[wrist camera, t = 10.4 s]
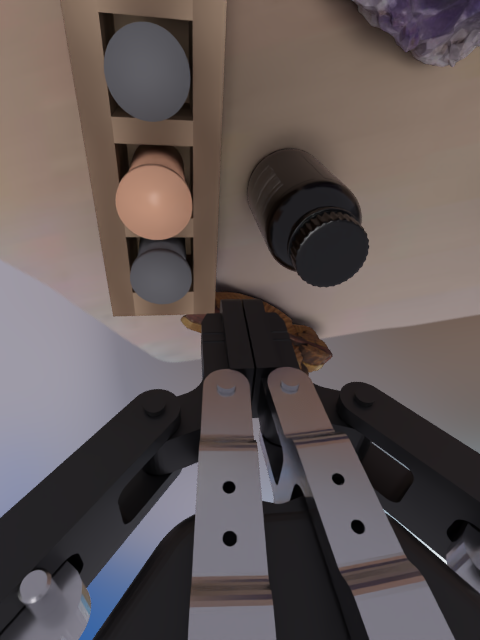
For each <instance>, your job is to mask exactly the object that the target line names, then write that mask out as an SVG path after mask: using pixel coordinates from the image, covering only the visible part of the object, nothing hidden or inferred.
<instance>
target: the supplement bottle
mask: <svg viewBox="0 0 480 640" xmlns="http://www.w3.org/2000/svg"><path fill="white" fill-rule="evenodd" d="M247 195H248V202H249V206H250V209H251V211H252V214H253V216H254V218H255V220H256V222H257V225H258V227H259V229H260V231H261V233H262V236H263V238H264V240H265V242H266V244H267V247H268V249H269V251H270V253H271V254H272V256H273V257H274V259H275V260H276V261H277V262H278V263H279V264H281V265H282V266H283V267H285V268H287V269H289V270H292V271H295V272H297V273H298V275H299V276H300V277H301V278H302V280H304V281H306V282H307V283H308V284H312V285H313V286H318V287H329V286H335V285H338V284H341V283H342V282H344V281H347V280H348V279H349V278H351V277H353V275H354V274H355V273H357V272H358V270H359V268H361V267H362V266H363V263H364V262H365V260H366V256H367V255H368V249H369V245H368V242H369V239H368V238H367V233H366V232H365V231H364V228H363V227H362V226H361V223H362V215H361V209H360V205H359V203H358V201H357V199H356V197H355V196H354V194H353V193H352V192H351V191H350V190H349V189H348V188H347V187H346V186H345V185H344V184H343V183H342V182H341V181H340V180H339V179H338V178H337V177H335V176H334V175H333V174H332V173H331V172H330V171H329V170H328V169H327V168H326V167H325V166H324V165H322V164H321V163H320V162H319V161H318V160H317V159H316V158H314V157H313V156H312V155H310V154H309V153H307V152H305V151H302V150H299V149H283V150H279V151H276V152H274V153H272V154H270V155H269V156H267V157H266V158H264V159H263V160H262V161H261V162H260V163H259V164H258V166H257V167H256V168H255V170H254V171H253V173H252V175H251V178H250V180H249V184H248V191H247Z"/></svg>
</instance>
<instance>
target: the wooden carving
mask: <svg viewBox="0 0 480 640" xmlns="http://www.w3.org/2000/svg"><path fill="white" fill-rule="evenodd" d="M221 299H255V298H253V297H249V296H246V295H242V294H241V293H234V292H215V313H220V300H221ZM263 305H264V308H265V312H276V313H277V314H278V315H279V316H280V317H281V318H282V319H283V320H284V321H285V324H286V327H287V330H288V333H289V336H290V341H291V343H292V346H293V349H294V352H295V355H296V358H297V361H298V364H299V367H300V370H301V371H303V372H304V373H306V374H307V375H308V374H309V372H312V371H317V370H319V369H320V368H322V367H323V365H324V364H325V363H326V362H327V361H328V360H329V359H330V358H331V357H332V353H331V351H330V350H329V349H328V347H327V345H326V344H325V343H324V342H323V341H322V340H320V339H319V338H318V335H317V334H316V332H315V331H314V330H313V329H312V328H310V327H307V326H305V325H296V324H294V325H292V320H291V319H290V318H289V317H288V316H286V315H285V314H284V313H283V312H281V311H280V310H278V309H277V308H275V307H273V306H272V305H269V304H268V303H266V302H263ZM205 316H206V314H187V315H185V316H183V317H182V318H181V321H182V323H183V324H184V325H185V326H186V327H187V328H189V329H191V330H194V331H197V332H200V333H201V322H202V321H203V319H204V317H205Z"/></svg>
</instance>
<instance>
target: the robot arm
mask: <svg viewBox="0 0 480 640" xmlns="http://www.w3.org/2000/svg"><path fill="white" fill-rule="evenodd" d="M201 357H202V377H203V380H202V382H201V383H200V385H199V386H198V387H197V388H196V389H194V390H193V391H191V392H189V393H186V394H183V395H180V396H177V397H176V396H175V395H174V394H173V393H171V392H169V391H166V390H162V389H154V390H149V391H146V392H143V393H142V394H140V395H138V396H137V397H136V398H135V399H134V400H133V401H131V402H130V403H129V404H128V405H127V406H126V407H125V408H124V409H123V410H121V411H120V412H119V413H118V414H117V415H116V416H115V417H113V418H112V419H111V420H110V421H109V422H108V423H107V424H106V425H104V426H103V427H102V428H101V429H100V430H99V431H98V432H97V433H96V434H94V435H93V436H92V437H91V438H90V439H89V440H88V441H86V442H85V443H84V444H83V445H82V446H81V447H80V448H79V449H78V450H76V451H75V452H74V453H73V454H72V455H71V456H70V457H69V458H67V459H66V460H65V461H64V462H63V463H62V464H61V465H59V466H58V467H57V468H56V469H55V470H54V471H53V472H52V473H50V474H49V475H48V476H47V477H46V478H45V479H44V480H43V481H42V482H40V483H39V484H38V485H37V486H36V487H35V488H34V489H33V490H31V491H30V492H29V493H28V494H27V495H26V496H25V497H23V498H22V499H21V500H20V501H19V502H18V503H17V504H16V505H14V506H13V507H12V508H11V509H10V510H9V511H8V512H7V513H5V514H4V515H3V516H2V517H1V518H0V640H78V639H79V638H80V636H81V634H82V633H83V631H84V629H85V627H86V625H87V622H88V620H89V617H90V611H91V600H90V596H89V593H88V591H87V589H86V588H87V587H88V585H89V584H90V583H91V582H92V580H93V579H94V578H95V577H96V576H97V574H98V573H99V572H100V571H101V569H102V568H103V567H104V566H105V565H106V563H107V562H108V561H109V560H110V558H111V557H112V556H113V555H114V554H115V552H116V551H117V550H118V549H119V547H120V546H121V545H122V544H123V543H124V541H125V540H126V539H127V537H128V536H129V535H130V534H131V533H132V531H133V530H134V529H135V528H136V527H137V525H138V524H139V523H140V521H141V520H142V519H143V518H144V517H145V515H146V514H147V513H148V512H149V511H150V509H151V508H152V507H153V506H154V504H155V503H156V502H157V501H158V500H159V498H160V497H161V496H162V495H163V494H164V492H165V491H166V490H167V489H168V487H169V486H170V485H171V484H172V482H173V481H174V480H175V479H176V478H177V476H178V475H179V474H180V472H181V470H182V468H184V467H187V466H189V465H192V464H194V463H197V462H198V477H197V494H196V513H195V515H192V516H191V517H189V518H187V519H185V520H184V521H182V522H181V523H179V524H178V525H177V526H175V527H174V528H173V529H172V530H171V531H170V532H169V533H168V534H167V535H166V536H165V537H164V538H163V540H162V541H161V542H160V543H159V545H158V546H157V547H156V549H155V550H154V552H153V553H152V555H151V556H150V557H149V559H148V560H147V562H146V563H145V565H144V566H143V567H142V569H141V570H140V572H139V573H138V575H137V576H136V578H135V579H134V580H133V582H132V584H131V585H130V586H129V588H128V589H127V591H126V592H125V593H124V595H123V597H122V598H121V599H120V601H119V602H118V604H117V605H116V606H115V608H114V609H113V611H112V612H111V614H110V615H109V617H108V618H107V619H106V621H105V622H104V624H103V625H102V627H101V628H100V629H99V631H98V632H97V634H96V635H95V637H94V638H93V640H480V454H479V453H478V452H476V451H474V450H473V449H471V448H470V447H468V446H466V445H465V444H463V443H462V442H460V441H459V440H457V439H456V438H454V437H452V436H451V435H449V434H448V433H446V432H445V431H443V430H441V429H440V428H438V427H437V426H435V425H433V424H432V423H430V422H429V421H427V420H426V419H424V418H422V417H421V416H419V415H417V414H416V413H415V412H413V411H412V410H410V409H408V408H407V407H405V406H404V405H402V404H400V403H399V402H397V401H396V400H394V399H393V398H391V397H389V396H388V395H386V394H385V393H383V392H381V391H380V390H378V389H377V388H375V387H374V386H372V385H369V384H366V383H363V382H351V383H348V384H346V385H345V386H343V387H342V389H341V391H338V390H333V389H329V388H324V387H320V386H318V385H315V384H314V383H312V381H311V379H310V378H309V376H308V375H307V374H306V373H304V372H303V371H301V370H300V367H299V364H298V361H297V358H296V355H295V352H294V349H293V346H292V343H291V341H290V336H289V333H288V330H287V327H286V324H285V321H284V320H283V319H282V318H281V317H280V316H279V315H278V314H277V313H276V312H265V308H264V305H263V301H262V299H221V300H220V313H207V314H206V316H205V317H204V319H203V321H202V322H201ZM252 418H259V422H260V431H259V441H260V444H261V448H262V452H263V455H264V460H265V463H266V467H267V471H268V475H269V479H270V482H271V486H272V490H273V496H274V503H270V502H265V501H262V495H261V483H260V471H259V459H258V448H257V442H256V440H254V436H253V424H252ZM372 442H374V443H375V444H376V445H378V446H379V447H380V448H382V449H383V450H385V451H386V452H388V453H389V454H390V455H392V456H393V457H394V458H396V459H397V460H398V461H400V462H401V463H403V464H404V465H405V466H406V467H408V468H409V469H410V470H408V469H407V468H405V467H404V466H402V465H401V464H399V463H398V462H397V461H396V460H394V459H393V458H391V457H390V456H389V455H387V454H386V453H384V452H383V451H382V450H380V449H379V448H378V447H376V446H375V445H374V444H372ZM383 509H384V510H386V511H387V512H388V513H389V514H390V515H391V516H393V517H394V518H395V519H396V520H398V521H399V522H400V523H401V524H402V525H404V526H405V527H406V528H407V529H409V530H410V531H411V532H412V533H413V534H415V535H416V536H417V537H418V538H420V539H421V540H422V541H423V542H425V543H426V544H427V545H428V546H429V547H431V548H432V549H433V550H434V551H435V552H437V553H438V554H439V555H440V556H442V557H443V558H444V559H445V560H446V561H447V564H445V563H444V562H443V561H442V560H441V559H440V558H439V557H437V556H436V555H435V554H434V553H433V552H431V551H430V550H429V549H428V548H427V547H426V546H425V545H424V544H422V543H421V542H420V541H419V540H418V539H417V538H415V537H414V536H413V535H412V534H411V533H410V532H409V531H407V530H406V529H405V528H404V527H403V526H401V525H400V524H399V523H398V522H397V521H396V520H394V519H393V518H392V517H390V516H389V515H388V514H386V513H385V512H384V510H383Z"/></svg>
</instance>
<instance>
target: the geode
mask: <svg viewBox="0 0 480 640" xmlns="http://www.w3.org/2000/svg"><path fill="white" fill-rule="evenodd" d="M351 1H354V2H355V3H356V4H357V5H358V12H359V13H361V14H362V15H363V16H364V17H365V19H366V20H367V21H368V22H369V24H370V25H372V26H373V27H379V28H380V29H382V30H384V31H386V32H388V33H389V34H390V35H392V36H393V37H394V39H395V42H396V43H397V45H398V46H400V47H401V48H402V49H403V50H404V51H405V52H407V51H409V50H410V51H411V52H412V55H413V56H414V58H415V59H417V60H420V61H422V62H423V63H425V64H430V65H436V66H440V67H444V66H447V65H450V66H451V67H453V66H455V63H456V62H458V61H459V60H461V59H463V58H465V57H466V56H467V55H468V54H469V53H471V52H472V51H473V49H474V48H476V47H477V46H480V0H351Z"/></svg>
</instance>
